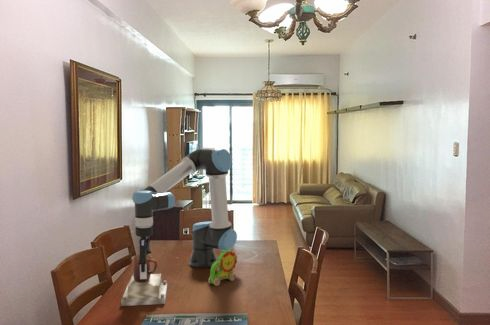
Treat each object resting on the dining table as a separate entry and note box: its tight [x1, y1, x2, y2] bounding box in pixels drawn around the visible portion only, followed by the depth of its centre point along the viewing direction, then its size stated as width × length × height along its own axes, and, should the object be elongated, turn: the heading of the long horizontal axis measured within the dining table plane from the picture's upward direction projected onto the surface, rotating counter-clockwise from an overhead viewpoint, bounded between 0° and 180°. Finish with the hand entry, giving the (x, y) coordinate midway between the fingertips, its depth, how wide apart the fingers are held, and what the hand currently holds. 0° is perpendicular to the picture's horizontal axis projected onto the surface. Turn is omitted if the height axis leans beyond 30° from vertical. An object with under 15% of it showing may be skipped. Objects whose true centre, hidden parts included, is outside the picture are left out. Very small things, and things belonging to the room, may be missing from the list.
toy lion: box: [208, 249, 238, 287], centre depth 205 cm, size 16×5×15 cm, turn 134°
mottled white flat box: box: [120, 273, 168, 307], centre depth 186 cm, size 18×18×8 cm
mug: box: [131, 254, 158, 282], centre depth 185 cm, size 12×9×10 cm
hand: (145, 273), depth 186 cm, fingers open, 13 cm apart
